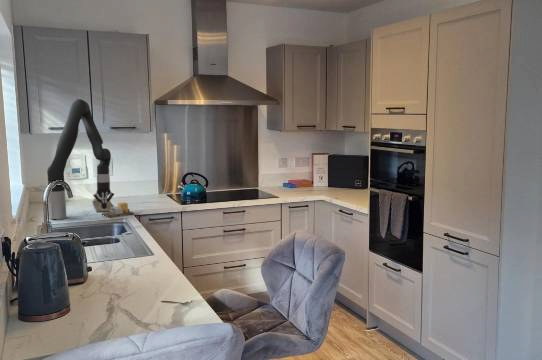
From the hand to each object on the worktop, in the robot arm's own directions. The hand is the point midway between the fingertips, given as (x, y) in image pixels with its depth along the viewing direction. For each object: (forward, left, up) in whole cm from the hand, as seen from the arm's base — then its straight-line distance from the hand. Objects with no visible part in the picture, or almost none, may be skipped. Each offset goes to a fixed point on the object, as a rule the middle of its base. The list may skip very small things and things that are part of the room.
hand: (104, 208), depth 310 cm
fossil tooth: (+6, +17, -6) cm, 19 cm away
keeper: (+8, 0, -4) cm, 9 cm away
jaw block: (+12, 0, -4) cm, 13 cm away
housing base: (+9, 0, -5) cm, 10 cm away
